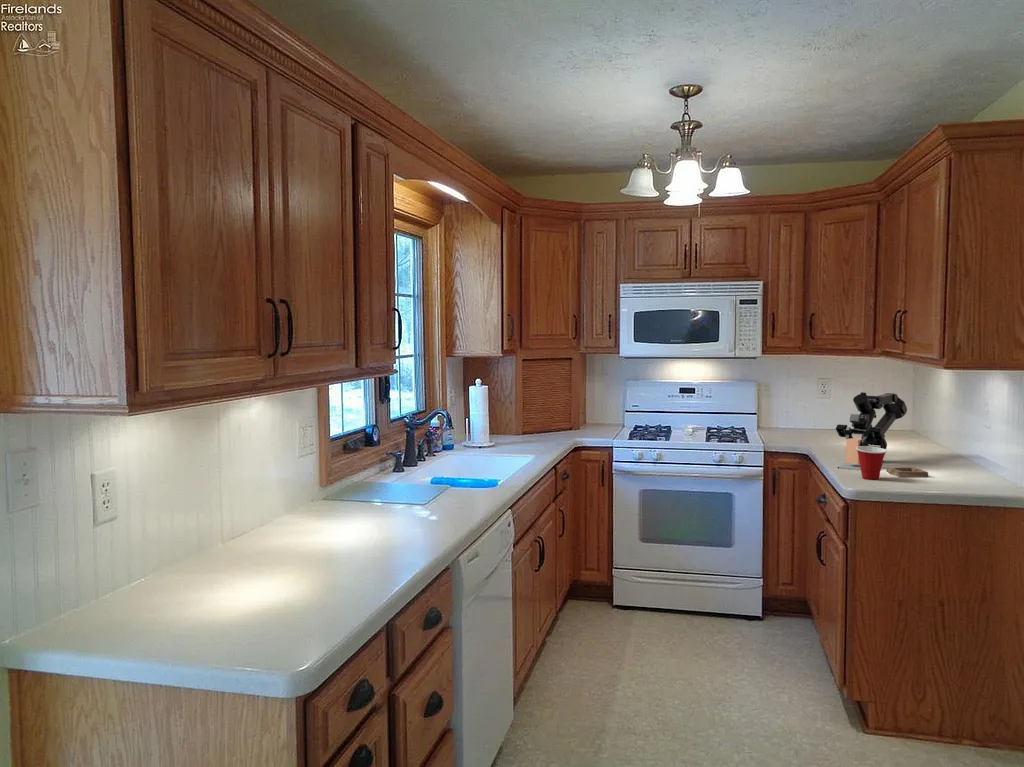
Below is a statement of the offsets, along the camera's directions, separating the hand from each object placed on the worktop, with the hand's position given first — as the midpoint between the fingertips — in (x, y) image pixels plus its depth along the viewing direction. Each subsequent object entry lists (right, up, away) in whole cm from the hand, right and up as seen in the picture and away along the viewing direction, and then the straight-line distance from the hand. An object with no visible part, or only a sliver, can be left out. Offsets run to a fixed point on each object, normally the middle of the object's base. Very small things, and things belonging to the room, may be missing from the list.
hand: (853, 447), depth 311 cm
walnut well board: (+14, -9, -16) cm, 23 cm away
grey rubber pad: (+1, -9, +1) cm, 9 cm away
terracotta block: (+1, -7, +1) cm, 7 cm away
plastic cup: (-4, -10, -23) cm, 26 cm away
